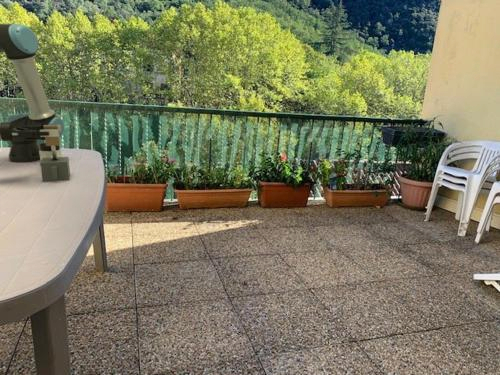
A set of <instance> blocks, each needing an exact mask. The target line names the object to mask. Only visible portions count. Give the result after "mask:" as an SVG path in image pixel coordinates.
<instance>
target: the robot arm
mask: <svg viewBox="0 0 500 375" xmlns="http://www.w3.org/2000/svg"><path fill="white" fill-rule="evenodd" d="M38 49H39V40H38V38H37V36H36V33H34V31H33V30H32V29H31V28H30V27H29V26H27V25H25V24H17V23H0V53H3V54H5V58H6V59H7V60H8V61H9V62H11V63H12V64H13V67H14V70H15V72H16V76H17V78H18V81H19V83H20V86H21V89H22V93H23V95H24V98H25V101H26V103H27V106H28V109H29V112H24V113H16V114H10V115H8V116H7V121H6V122H5V121H4V122H3V121H1V122H0V142H1V141H3V142H10V147H9V148H10V149H9V153H8V160H9V161H10V162H13V163H15V162H16V163H18V162H19V163H27V162H34V161H35V162H36V161H39V160H40V154H39V150H40V145H39V144H38V140H39V141H45V137H59V140H60V139H61V138H62V136H63V135H64V132H65V122H64V120H63V119H62V118H61V117H59V116H56V115H57V114H56V112H55V111H54V110H53V109H51V108H50V103H49V101H48V99H47V96H46V91H45V89H44V87H43V83H42V81H41V78H40V75H39V71H38V69H37V66H36V62H35V57H36V56H37V54H36V52H38ZM44 125H58V130H44ZM58 131H59V133H58Z"/></svg>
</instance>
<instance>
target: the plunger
mask: <svg viewBox="0 0 500 375" xmlns="http://www.w3.org/2000/svg"><path fill="white" fill-rule="evenodd" d="M44 130H58V125H44ZM58 133H59V131H58ZM44 141H45V142H44V143H46V146H51V150H52V158H53V160H57V156H56V148H55V146H58V145H59V146H60V145H61V142H60V139H59V137H45V140H44Z"/></svg>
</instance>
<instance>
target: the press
mask: <svg viewBox="0 0 500 375" xmlns="http://www.w3.org/2000/svg"><path fill="white" fill-rule="evenodd" d="M69 160H70V159H69V156H62V157H57V160H53V158H43V159H42V161H40V164H39V165H40V172H41V178H42V182H43V183H46V182H47V183H48V182H59V181H60V182H61V181H63V182H64V181H70V177H71V170H70V162H69Z"/></svg>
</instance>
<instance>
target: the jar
mask: <svg viewBox="0 0 500 375" xmlns="http://www.w3.org/2000/svg"><path fill="white" fill-rule="evenodd" d="M39 148H40V150H39V154H40V162H41V161H42V159H43V158H52V150H51V146H46V143H45V142H43V143H40V144H39ZM55 148H56V156H57V157H63V156H62V149H61V148H60V145H58V146H55Z"/></svg>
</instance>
